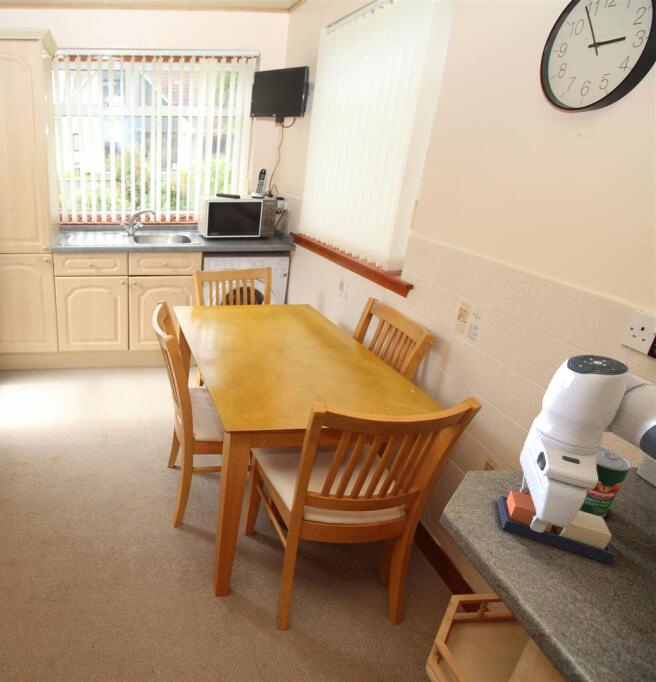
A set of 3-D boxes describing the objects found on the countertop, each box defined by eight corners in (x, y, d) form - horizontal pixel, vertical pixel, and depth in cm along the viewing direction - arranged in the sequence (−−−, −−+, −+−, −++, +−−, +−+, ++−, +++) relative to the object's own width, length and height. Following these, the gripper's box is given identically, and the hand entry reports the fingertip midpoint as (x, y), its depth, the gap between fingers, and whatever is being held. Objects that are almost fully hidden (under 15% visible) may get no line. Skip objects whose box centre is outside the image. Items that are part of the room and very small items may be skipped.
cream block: (593, 534, 84) (602, 517, 82) (602, 554, 79) (612, 536, 78) (552, 522, 86) (560, 504, 85) (558, 540, 82) (567, 522, 80)
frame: (595, 534, 85) (600, 525, 84) (609, 564, 78) (614, 555, 77) (497, 503, 91) (500, 495, 90) (502, 529, 85) (506, 520, 84)
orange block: (507, 523, 85) (515, 505, 84) (503, 506, 89) (511, 489, 88) (547, 536, 83) (556, 518, 81) (541, 518, 87) (549, 501, 85)
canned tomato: (584, 519, 88) (608, 471, 84) (543, 491, 95) (564, 445, 91) (617, 515, 89) (643, 467, 85) (575, 487, 96) (597, 442, 92)
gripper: (525, 415, 90) (501, 474, 95) (549, 473, 73) (518, 541, 78) (567, 424, 87) (540, 485, 92) (602, 487, 70) (566, 557, 75)
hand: (530, 512), depth 85 cm, fingers open, 8 cm apart
